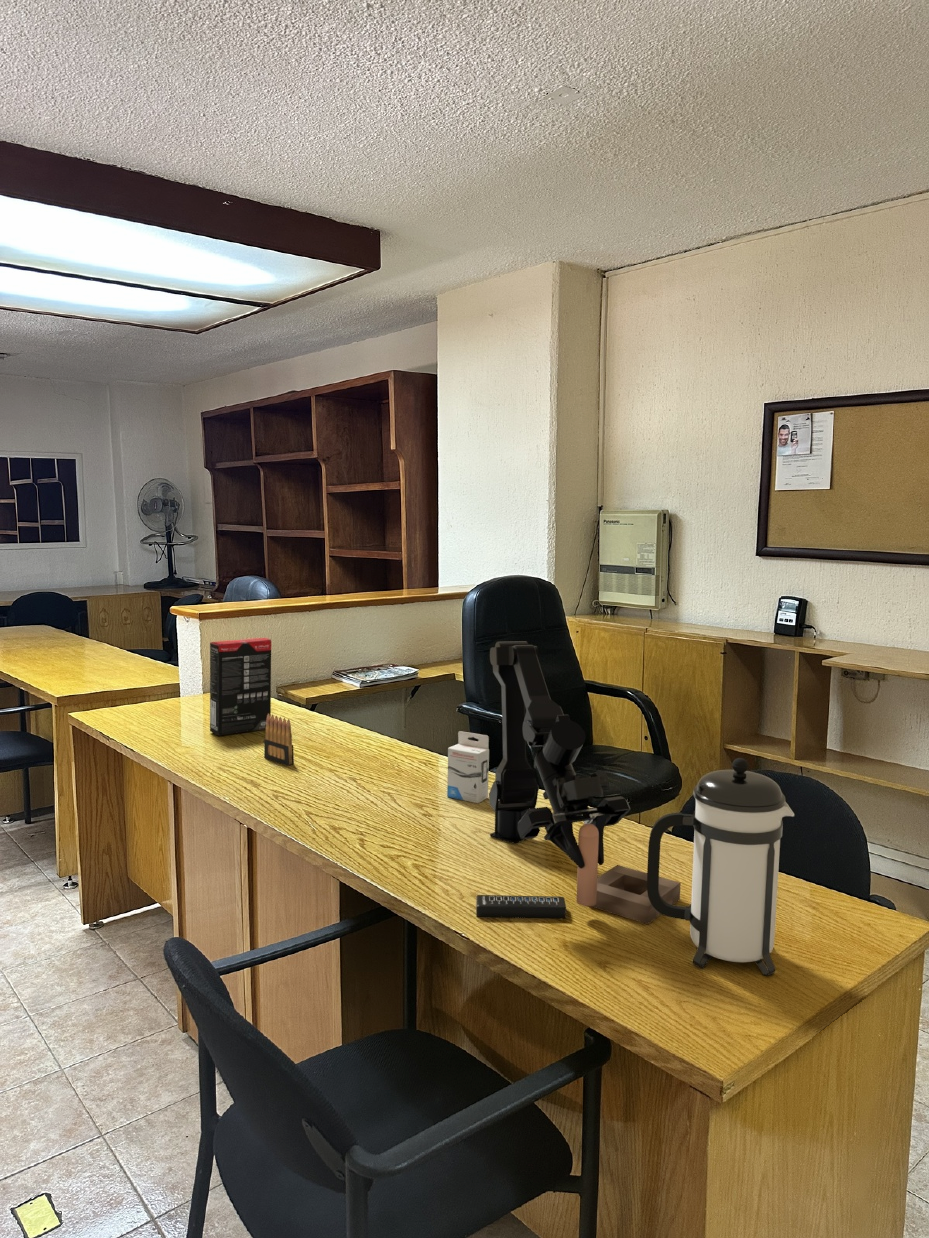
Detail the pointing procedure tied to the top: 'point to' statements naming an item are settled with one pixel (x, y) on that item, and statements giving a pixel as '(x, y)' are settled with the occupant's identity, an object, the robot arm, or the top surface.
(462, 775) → the ink box
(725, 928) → the coffee press
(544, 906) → the multiport hub
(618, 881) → the brown square frame
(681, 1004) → the top surface
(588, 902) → the terracotta dowel
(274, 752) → the ammunition clip
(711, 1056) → the top surface
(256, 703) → the graphics card box
